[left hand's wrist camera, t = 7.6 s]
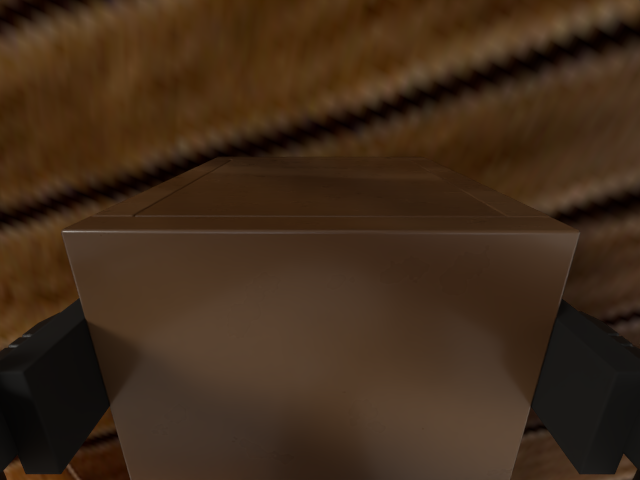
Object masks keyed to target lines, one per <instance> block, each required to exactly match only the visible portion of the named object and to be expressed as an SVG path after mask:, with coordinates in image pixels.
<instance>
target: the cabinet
mask: <svg viewBox="0 0 640 480" xmlns="http://www.w3.org/2000/svg"><path fill="white" fill-rule="evenodd" d="M61 234H62V237H63V241H64V244H65V248H66V252H67V255H68V259H69V262H70V266H71V269H72V273H73V277H74V280H75V284H76V287H77V291H78V294H79V298H80V301H81V305H82V309H83V312H84V316H85V319H86V323H87V326H88V330H89V333H90V337H91V341H92V344H93V348H94V351H95V355H96V358H97V362H98V366H99V369H100V373H101V376H102V380H103V383H104V387H105V390H106V394H107V398H108V401H109V405H110V408H111V412H112V415H113V419H114V423H115V426H116V430H117V433H118V437H119V440H120V444H121V447H122V451H123V455H124V458H125V462H126V465H127V469H128V472H129V476H130V480H510V479H511V475H512V472H513V468H514V465H515V461H516V458H517V454H518V451H519V447H520V444H521V440H522V437H523V433H524V430H525V426H526V423H527V419H528V415H529V412H530V408H531V405H532V401H533V398H534V394H535V391H536V387H537V384H538V380H539V377H540V373H541V370H542V366H543V363H544V359H545V356H546V352H547V349H548V345H549V342H550V338H551V335H552V331H553V328H554V324H555V321H556V317H557V314H558V310H559V307H560V303H561V300H562V296H563V292H564V289H565V285H566V282H567V278H568V275H569V271H570V268H571V264H572V261H573V257H574V254H575V250H576V247H577V243H578V240H579V236H580V231H579V230H577V229H575V228H572V227H570V226H568V225H566V224H564V223H562V222H560V221H558V220H555V219H553V218H551V217H550V216H548V215H546V214H544V213H542V212H540V211H538V210H535V209H533V208H531V207H529V206H527V205H525V204H523V203H521V202H518V201H516V200H514V199H512V198H510V197H508V196H506V195H504V194H501V193H499V192H497V191H495V190H493V189H491V188H489V187H486V186H484V185H482V184H480V183H478V182H476V181H474V180H472V179H469V178H467V177H465V176H463V175H461V174H459V173H457V172H454V171H452V170H450V169H448V168H446V167H444V166H442V165H440V164H437V163H435V162H433V161H431V160H428V159H426V158H424V157H217V158H215V159H213V160H211V161H209V162H207V163H204V164H202V165H200V166H198V167H196V168H194V169H191V170H189V171H187V172H185V173H183V174H181V175H179V176H176V177H174V178H172V179H170V180H168V181H166V182H164V183H161V184H159V185H157V186H155V187H153V188H151V189H149V190H146V191H144V192H142V193H140V194H138V195H136V196H133V197H131V198H129V199H127V200H125V201H123V202H121V203H118V204H116V205H114V206H112V207H110V208H108V209H106V210H103V211H101V212H99V213H97V214H95V215H93V216H91V217H88V218H86V219H84V220H82V221H80V222H78V223H75V224H73V225H71V226H69V227H67V228H65V229H63V230H62V232H61Z"/></svg>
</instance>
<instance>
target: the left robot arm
mask: <svg viewBox="0 0 640 480" xmlns="http://www.w3.org/2000/svg"><path fill="white" fill-rule="evenodd" d="M109 406H110V405H109V401H108V398H107V394H106V390H105V387H104V383H103V380H102V376H101V373H100V369H99V366H98V362H97V358H96V355H95V351H94V348H93V344H92V341H91V337H90V333H89V330H88V326H87V323H86V319H85V316H84V312H83V309H82V305H81V301H80V298H79V299H78V300H76V301H75V302H74V303H73V304H71V305H70V306H69V307H67V308H66V309H65V310H63V311H62V312H61V313H58V314H56V315H54V316H52V317H50V318H48V319H45V320H43V321H41V322H39V323H38V324H36V325H35V326H34V327H32V328H31V329H30V330H28V331H27V332H26V333H24V334H23V336H22V337H19V338H18V339H16V340H15V341H14V342H12V343H11V344H10V345H9V347H8V348H4V349H3V350H2V351H0V480H7V479H6V476H5V474H4V471H3V470H4V469H5V468H6V467H7V466H8V465H9V464H10V462H11V461H12V460H13V459H14V458H15V457H16V456H17V454H18V457H19V459H20V461H21V464H22V466H23V468H24V471H25V473H26V474H61V473H62V472H63V471H64V469H65V468H66V466H67V465H68V464H69V462H70V461H71V459H72V458H73V457H74V455H75V454H76V452H77V451H78V450H79V448H80V447H81V445H82V444H83V443H84V441H85V440H86V438H87V437H88V436H89V434H90V433H91V431H92V430H93V429H94V427H95V426H96V424H97V423H98V422H99V420H100V419H101V417H102V416H103V415H104V413H105V412H106V410H107V409H108V408H109ZM531 407H532V408H533V410H534V411H535V413H536V414H537V415H538V417H539V418H540V420H541V421H542V422H543V424H544V425H545V427H546V428H547V429H548V431H549V432H550V434H551V435H552V436H553V438H554V439H555V441H556V442H557V443H558V445H559V446H560V448H561V449H562V450H563V452H564V453H565V455H566V456H567V457H568V459H569V460H570V462H571V463H572V464H573V466H574V467H575V468H576V470H577V471H578V473H579V474H615V472H616V470H617V467H618V465H619V463H620V460H621V458H622V456H623V453H624V454H625V455H626V456H627V457H628V459H629V460H630V461H631V462H632V463H633V464H634V465H635V466H636V468H637V471H636V474H635V476H634V478H633V480H640V349H638V348H637V347H633V346H632V343H630V342H629V341H628V340H626V339H625V338H624V337H622V336H619V334H618V333H617V332H616V331H614V330H613V329H612V328H610V327H609V326H608V325H606V324H605V323H603V322H602V321H600V320H598V319H596V318H594V317H592V316H590V315H588V314H586V313H584V312H582V311H577V310H576V309H574V308H573V307H572V306H571V305H569V304H568V303H567V302H565V301H564V300H563V299H562V300H561V303H560V307H559V310H558V314H557V317H556V321H555V324H554V328H553V331H552V335H551V338H550V342H549V345H548V349H547V352H546V356H545V359H544V363H543V366H542V370H541V373H540V377H539V380H538V384H537V387H536V391H535V394H534V398H533V401H532V405H531Z"/></svg>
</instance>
